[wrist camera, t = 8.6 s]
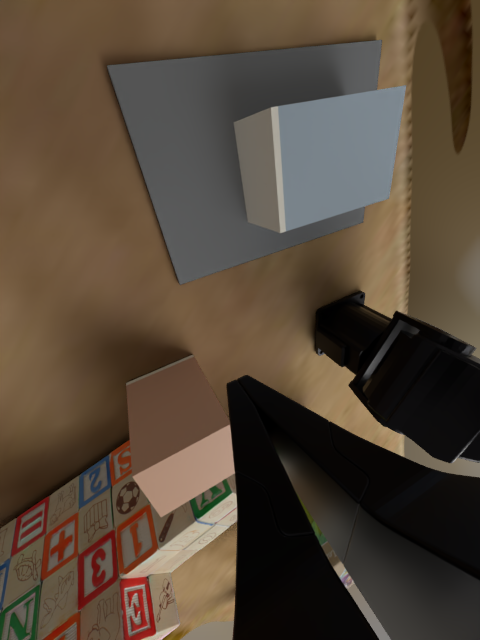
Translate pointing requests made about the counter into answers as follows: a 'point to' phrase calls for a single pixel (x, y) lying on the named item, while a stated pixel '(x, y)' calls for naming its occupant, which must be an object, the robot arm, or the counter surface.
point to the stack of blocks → (102, 557)
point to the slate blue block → (318, 157)
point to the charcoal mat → (225, 142)
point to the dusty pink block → (177, 435)
